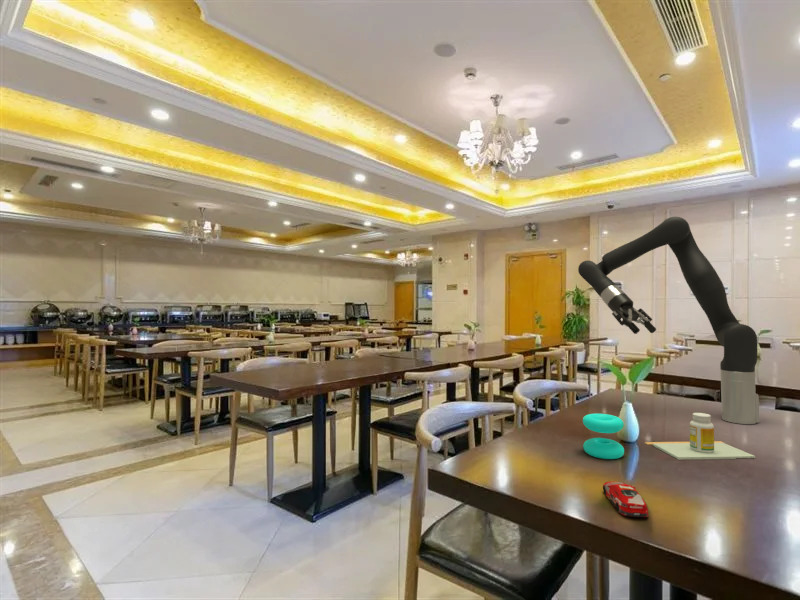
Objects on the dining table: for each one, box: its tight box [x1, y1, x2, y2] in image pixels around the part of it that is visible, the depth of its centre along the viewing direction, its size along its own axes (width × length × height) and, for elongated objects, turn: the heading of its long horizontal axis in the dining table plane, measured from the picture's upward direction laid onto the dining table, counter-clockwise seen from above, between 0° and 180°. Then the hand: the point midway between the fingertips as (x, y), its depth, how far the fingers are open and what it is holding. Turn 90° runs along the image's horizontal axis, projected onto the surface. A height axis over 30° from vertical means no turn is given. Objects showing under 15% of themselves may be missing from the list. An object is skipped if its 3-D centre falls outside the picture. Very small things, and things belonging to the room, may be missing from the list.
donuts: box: [582, 413, 625, 460], centre depth 114 cm, size 10×10×10 cm
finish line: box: [644, 440, 725, 446], centre depth 121 cm, size 22×2×1 cm, turn 90°
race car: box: [602, 480, 649, 518], centre depth 85 cm, size 13×5×4 cm, turn 170°
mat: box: [652, 442, 756, 461], centre depth 114 cm, size 20×11×1 cm, turn 90°
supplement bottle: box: [689, 412, 715, 453], centre depth 114 cm, size 5×5×10 cm
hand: (645, 331), depth 147 cm, fingers open, 8 cm apart
